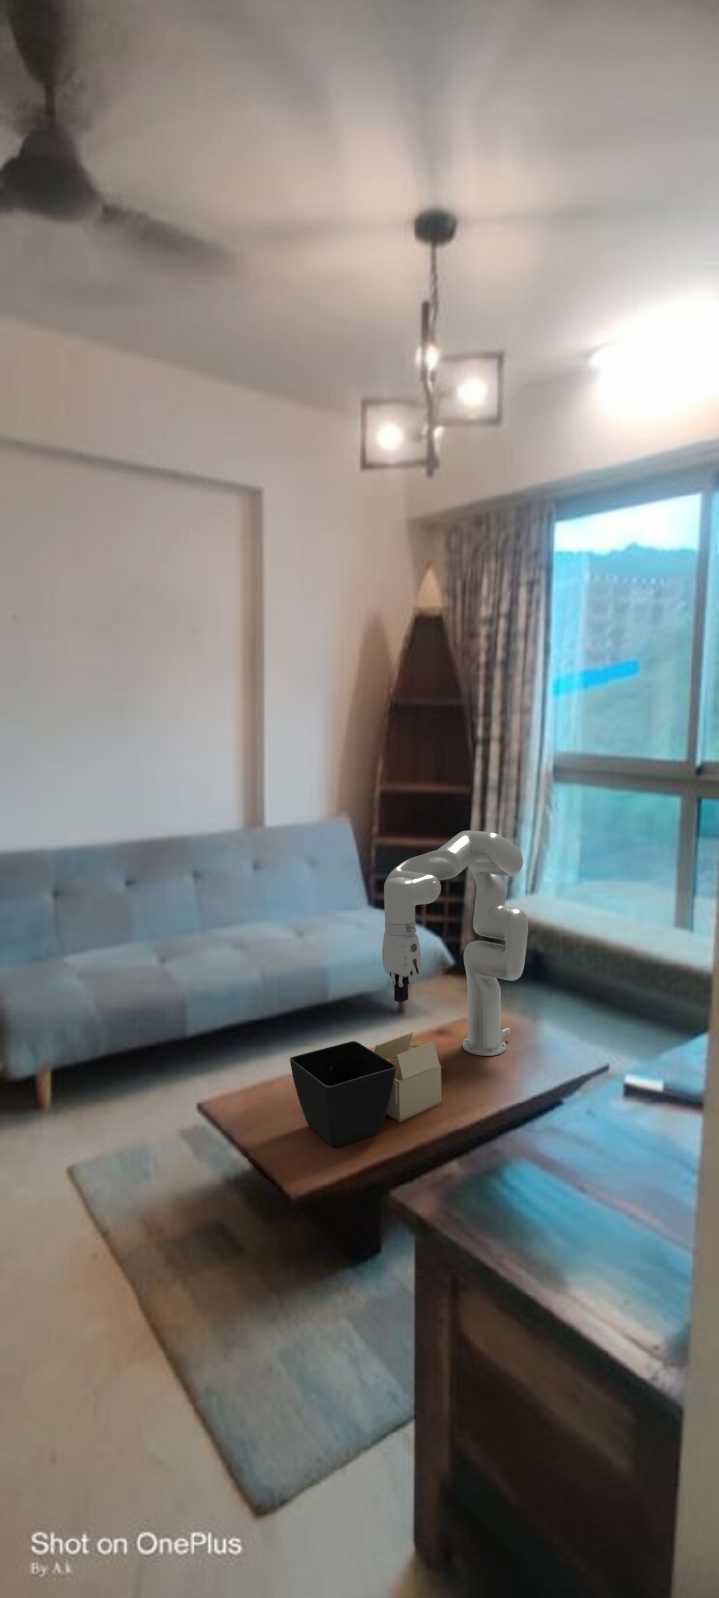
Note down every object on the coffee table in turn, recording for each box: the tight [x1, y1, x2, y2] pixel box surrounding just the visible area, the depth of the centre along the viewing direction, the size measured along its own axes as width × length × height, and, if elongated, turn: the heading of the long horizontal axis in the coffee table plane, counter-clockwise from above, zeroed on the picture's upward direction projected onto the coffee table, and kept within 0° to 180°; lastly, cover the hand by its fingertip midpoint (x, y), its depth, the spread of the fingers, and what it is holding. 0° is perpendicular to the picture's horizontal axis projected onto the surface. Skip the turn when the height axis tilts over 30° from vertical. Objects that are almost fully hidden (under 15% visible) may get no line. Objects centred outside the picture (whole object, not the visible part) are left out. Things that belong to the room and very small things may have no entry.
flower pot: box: [289, 1040, 396, 1148], centre depth 187 cm, size 19×19×17 cm
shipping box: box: [385, 1056, 442, 1123], centre depth 198 cm, size 15×11×10 cm
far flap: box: [373, 1031, 414, 1060], centre depth 201 cm, size 12×6×1 cm
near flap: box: [395, 1040, 441, 1080], centre depth 193 cm, size 12×6×1 cm
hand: (401, 1000), depth 196 cm, fingers closed
